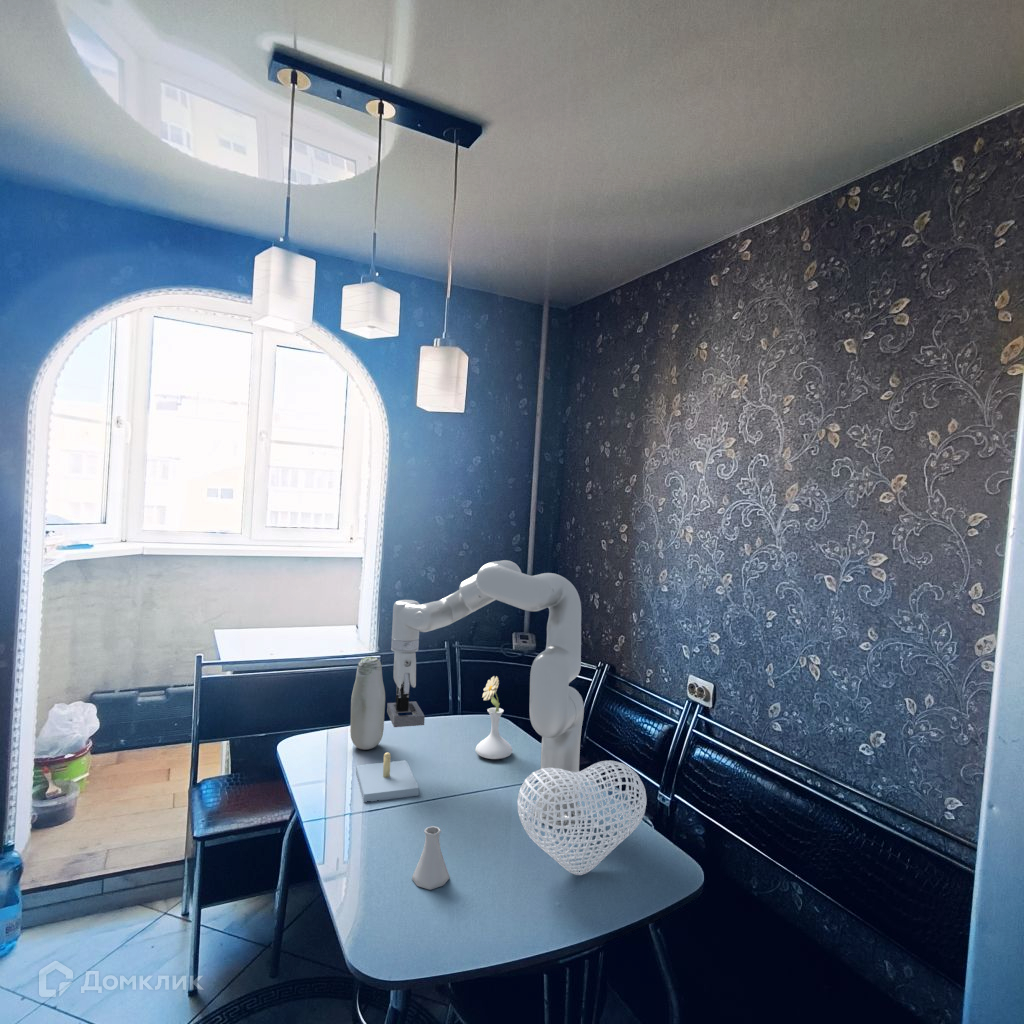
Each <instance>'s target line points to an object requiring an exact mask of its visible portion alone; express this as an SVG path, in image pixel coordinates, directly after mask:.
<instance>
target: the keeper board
mask: <svg viewBox="0 0 1024 1024" xmlns="http://www.w3.org/2000/svg"><path fill="white" fill-rule="evenodd" d="M411 770H412V769H411V768H410V766H409V763H408V761H407V760H405V759H403V760H396V761H391V753H390V752H385V753H384V754H383V762H377V763H366V764H359V765H358V764H357V765H355V774H356V775H355V776H356V779H357V778H358V779H357V783H358V782H359V783H358V786H360V787H359V790H360V794H361V797H363V798H362V801H364V802H363V803H368V802H367V801H371V802H377V800H379V801H385V800H387V801H388V800H395V799H402V798H410V797H418V796H419V791H420V787H419V784H418V783H417V781H416V779H415V776H414V775H413V774H414V773H413V771H411Z"/></svg>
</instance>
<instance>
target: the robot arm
mask: <svg viewBox="0 0 1024 1024" xmlns="http://www.w3.org/2000/svg"><path fill="white" fill-rule="evenodd" d="M580 598H581V597H580V595H579V593H578V590H577V588H576V587H575V586H574V585H573V583H572V582H571V581H570V580H568V579H567V578H566V577H564V576H562V575H560V574H557V573H554V572H553V573H552V572H544V573H543V572H542V573H540V574H535V575H529V574H526V573H523V572H522V570H521V568H520V567H519V565H518V564H517V563H515V562H513V560H512V561H511V560H506V559H504V560H503V559H502V560H495V561H491V562H488V563H485V564H484V565H482V566H481V567H480V568H479V570H478V571H477V573H475V574H473V575H472V576H469V577H468V578H466V579H465V580H463V581H461V583H460V584H459V588H458V589H457V590H456V591H454V592H452V593H451V594H449V595H447V596H445V597H443V598H441V599H439V600H434V601H430V602H425V603H422V604H420V602H419V601H416V600H414V599H400V600H397V601H394V603H393V607H392V624H391V625H392V626H391V628H392V629H391V645H390V647H391V648H390V650H391V651H392V652H394V654H393V657H394V659H393V676H392V677H393V680H394V683H395V685H396V695H395V703H397V712H405V711H408V706H409V702H410V687H411V688H413V689H415V688H416V686H417V657H416V656H417V655H416V652H418V651H419V644H420V641H419V640H420V633H427V632H431V631H434V630H438V629H441V628H444V627H447V626H450V625H451V624H453V623H455V622H457V621H459V620H461V619H464V618H466V617H467V616H468V615H470V614H472V613H474V612H476V611H478V610H479V609H481V608H483V607H485V606H487V605H489V604H491V603H492V602H495V601H499V602H501V603H504V604H507V605H510V606H512V607H515V608H518V609H521V610H523V611H527V612H540V611H542V610H545V609H547V608H548V619H547V623H546V642H545V643H546V645H545V649H544V650H543V651H541V652H540V653H539V654H538V655H537V656H536V657H535V658H534V660H533V661H532V664H531V668H530V673H529V675H530V676H529V720H530V723H531V726H532V728H533V730H535V732H536V733H537V734H538V735H539V736H540V737H541V747H540V749H541V751H540V769H542V768H558V769H563V770H567V771H571V772H579V771H580V754H581V753H580V752H581V751H580V750H581V736H582V730H583V729H582V726H583V723H584V722H583V721H584V713H585V706H584V701H583V697H582V695H581V694H580V693H579V691H578V690H577V689H576V688H575V687H573V686H569V685H570V683H572V681H573V680H575V679H576V678H578V676H579V675H580V671H581V669H582V667H581V666H582V657H581V656H582V601H581V599H580ZM405 713H406V712H405ZM547 772H548V771H547ZM549 772H552V771H549ZM559 774H561V773H559ZM549 775H551V774H549ZM546 776H547V775H544V776H542V777H546ZM574 776H575V775H574ZM577 777H578V776H577ZM552 778H553V777H552ZM558 778H559V776H555V777H554V779H558ZM562 778H563V777H562ZM572 779H574V778H572ZM548 781H551V780H548V779H547V782H548ZM561 781H562V780H561ZM566 781H569V780H566ZM543 782H544V783H545V780H544V781H543ZM573 783H574V782H573ZM540 784H541V783H540ZM559 784H562V783H561V782H559ZM575 784H577V782H575ZM547 785H551V783H549V784H547ZM554 785H555V784H554V782H553V784H552V786H554ZM572 786H573V785H570V787H572ZM540 787H541V786H540ZM560 787H562V786H560ZM564 787H566V785H564ZM549 788H550V787H549ZM576 789H577V790H578V786H577V787H576ZM543 790H544V787H543V788H541V789H540V790H539V792H543ZM546 790H547V789H546V788H545V791H546ZM564 790H568V789H564ZM564 790H563V791H564ZM570 790H573V788H572V789H570ZM551 791H552V792H553V793H554V794H555V791H556V788H553V789H551ZM558 792H560V790H559V789H557V793H558ZM546 793H549V791H548V792H546ZM572 793H573V792H572ZM564 794H565V795H567V792H565V793H564ZM569 794H570V792H569ZM540 795H541V794H540ZM558 795H561V794H558ZM548 797H549V795H545V794H544V798H545V799H546V800H547V799H548ZM550 797H551V795H550ZM556 797H557V798H558V800H559V801H561V797H559V796H556ZM554 798H555V797H553V798H551V799H550V801H549V802H554ZM571 798H572V796H569V799H571ZM575 798H578V796H577V794H576V795H575ZM562 800H565V798H564V797H563V798H562ZM539 801H542V798H540V800H539ZM557 802H558V801H557V800H556V803H557ZM565 802H566V801H565ZM569 802H570V801H569ZM543 804H544V803H543ZM551 805H552V806H553V805H554V804H551ZM569 805H570V808H574V803H570V804H569ZM547 806H548V804H545V806H544V808H543V810H544V811H547ZM576 806H577V808H579V807H580V804H578V802H576ZM538 807H539V808H541V807H542V803H538ZM562 807H563V809H567V804H562ZM533 808H534V806H533ZM550 808H551V806H550V805H549V810H550ZM535 809H536V808H535ZM555 809H556V810H557V811H558V810H560V805H559V804H557V805H556V806H555ZM551 811H554V809H553V808H552V810H551ZM532 812H533V810H532ZM535 812H536V811H534V815H533V816H535ZM549 814H551V815H553V813H549ZM538 815H539V812H537V818H538ZM555 815H556V813H555ZM580 815H581V810H577V816H580ZM546 816H547V815H546V814H544V813H543V815H542V819H543V820H546ZM574 816H575V810H574V811H571V817H574ZM557 817H561V814H560V812H558V813H557ZM540 818H541V815H540ZM564 818H568V812H564ZM578 818H581V817H578ZM548 820H553V818H552V817H550V816H549V819H548ZM578 822H579V823H580V822H581V820H578ZM548 823H551V824H553V823H554V821H552V822H548ZM572 824H575V820H571V825H572ZM556 825H558V826H561V820H559V821H556ZM566 825H569V820H564V823H563V826H566Z"/></svg>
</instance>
